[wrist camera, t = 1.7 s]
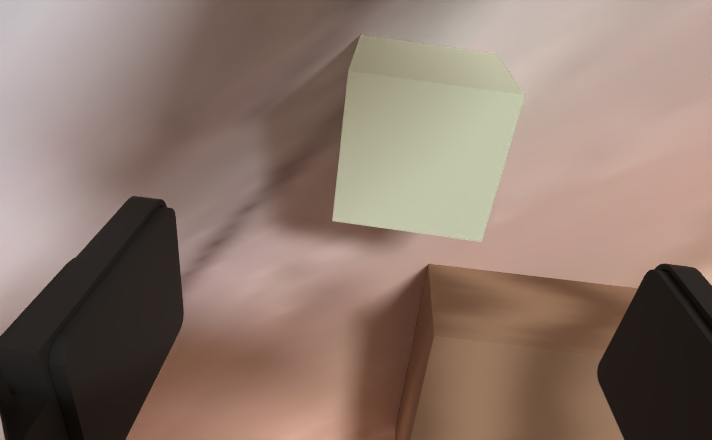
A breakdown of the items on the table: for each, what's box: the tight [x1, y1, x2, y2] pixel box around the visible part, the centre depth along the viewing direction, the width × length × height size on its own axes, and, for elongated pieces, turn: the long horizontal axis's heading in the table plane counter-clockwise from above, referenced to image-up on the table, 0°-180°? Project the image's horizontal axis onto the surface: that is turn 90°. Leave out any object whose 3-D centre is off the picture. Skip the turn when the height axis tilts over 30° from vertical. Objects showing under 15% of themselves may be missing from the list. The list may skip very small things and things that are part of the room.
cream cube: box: [332, 35, 525, 242], centre depth 18 cm, size 5×5×5 cm
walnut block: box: [395, 264, 638, 440], centre depth 25 cm, size 12×12×5 cm
